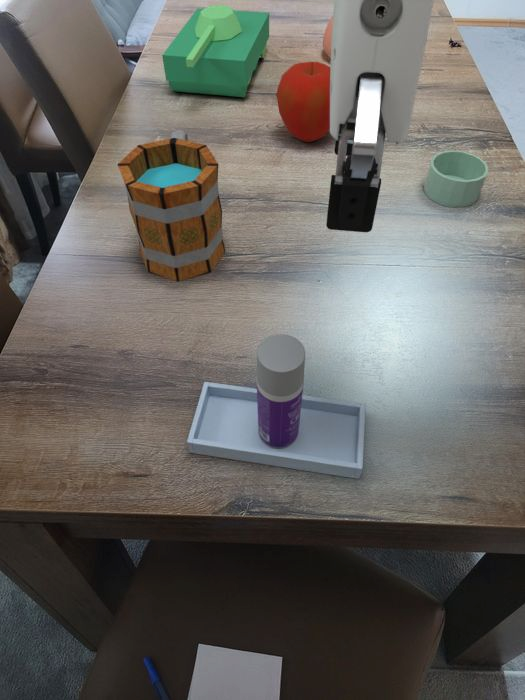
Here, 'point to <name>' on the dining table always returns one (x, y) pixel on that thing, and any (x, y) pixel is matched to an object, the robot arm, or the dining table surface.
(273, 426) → the container
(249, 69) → the toy tank
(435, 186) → the bowl
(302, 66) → the apple
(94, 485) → the dining table surface
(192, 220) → the mug
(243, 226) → the dining table surface
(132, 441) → the dining table surface
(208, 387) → the tray
